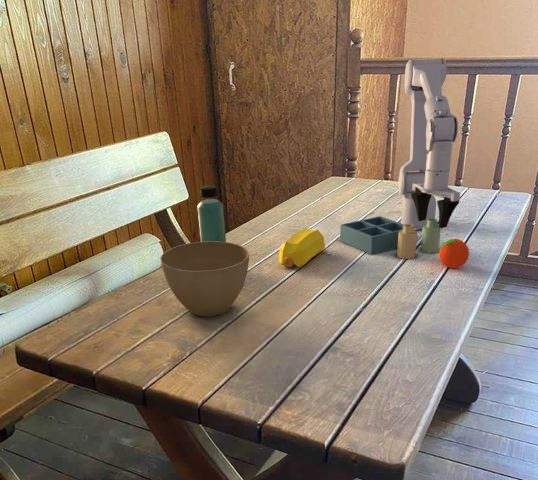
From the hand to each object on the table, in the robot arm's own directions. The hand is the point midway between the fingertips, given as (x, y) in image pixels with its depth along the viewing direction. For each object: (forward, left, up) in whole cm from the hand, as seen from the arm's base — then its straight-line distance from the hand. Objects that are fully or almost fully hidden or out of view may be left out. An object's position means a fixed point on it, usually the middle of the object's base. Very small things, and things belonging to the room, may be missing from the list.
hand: (432, 223), depth 149 cm
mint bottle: (0, 0, -7) cm, 7 cm away
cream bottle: (+8, 0, -7) cm, 11 cm away
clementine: (+5, +12, -7) cm, 15 cm away
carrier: (+7, -13, -7) cm, 17 cm away
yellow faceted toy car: (+31, -14, -7) cm, 35 cm away
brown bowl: (+64, +1, -7) cm, 64 cm away
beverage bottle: (+52, -22, -7) cm, 57 cm away
